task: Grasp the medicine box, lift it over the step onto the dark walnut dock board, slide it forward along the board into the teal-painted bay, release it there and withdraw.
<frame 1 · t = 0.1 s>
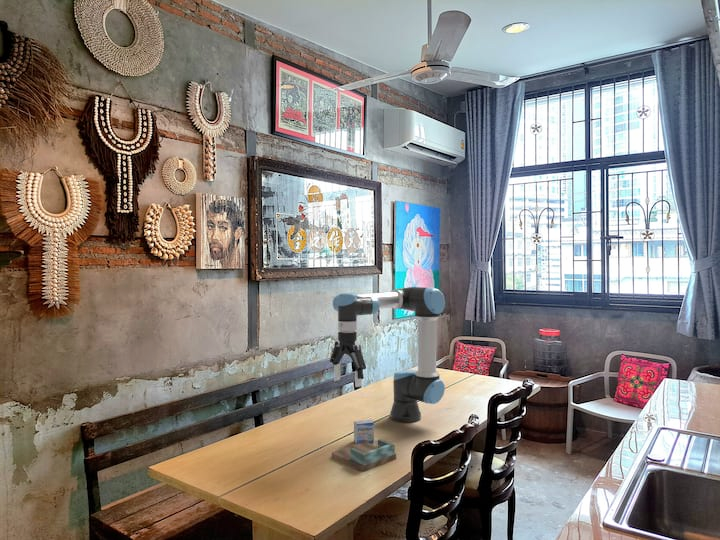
hand: (347, 383, 204), 28 cm above the table, fingers open, 13 cm apart
dock: (363, 458, 198), on the table
medicine box: (364, 442, 215), on the table
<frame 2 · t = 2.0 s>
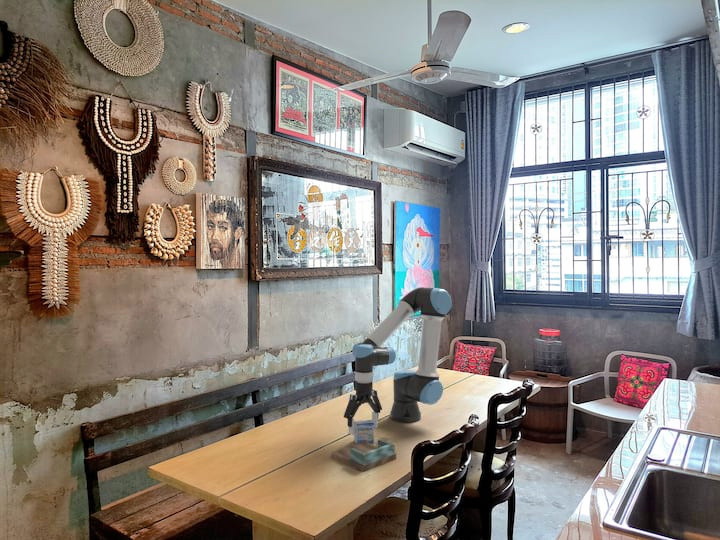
hand: (363, 430, 215), 5 cm above the table, fingers open, 13 cm apart
nothing on the table moved.
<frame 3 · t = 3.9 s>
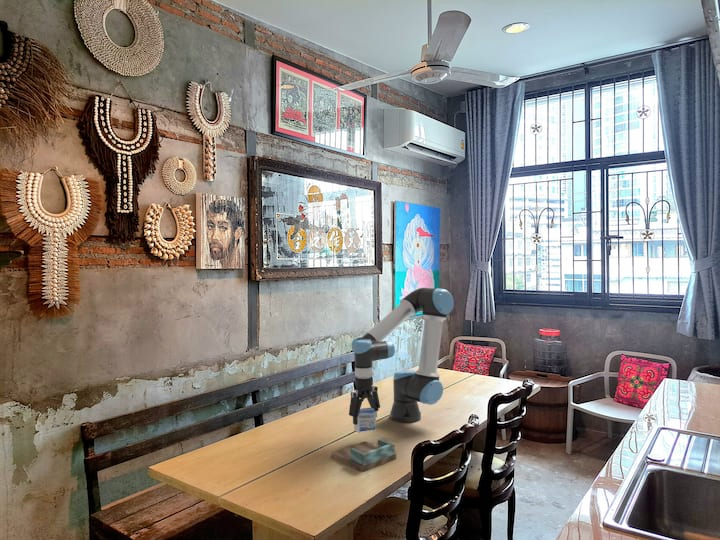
hand: (365, 428, 216), 6 cm above the table, fingers closed on medicine box, 9 cm apart
medicine box: (365, 429, 216), point 5 cm above the table, touching gripper
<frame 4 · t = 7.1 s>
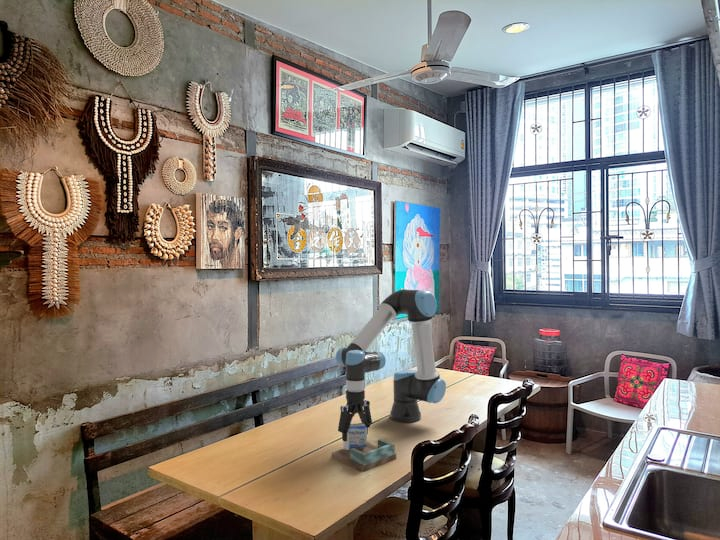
hand: (355, 445, 201), 4 cm above the table, fingers closed on medicine box, 9 cm apart
medicine box: (355, 446, 201), point 3 cm above the table, touching gripper
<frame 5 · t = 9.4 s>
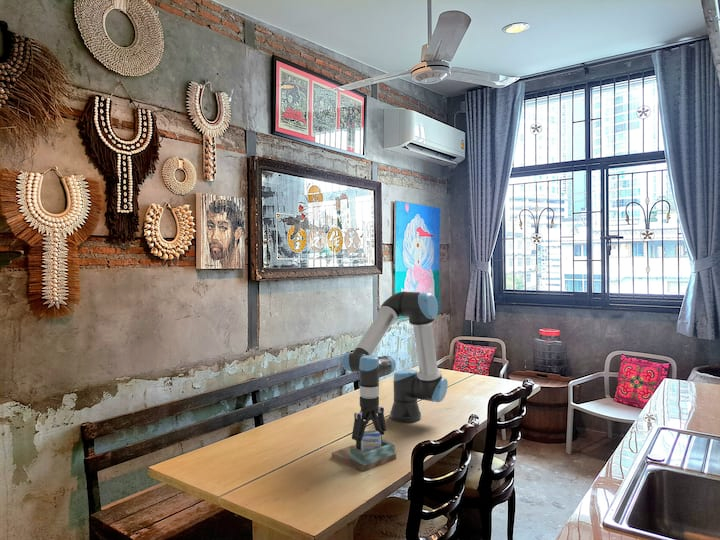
hand: (369, 453, 195), 3 cm above the table, fingers closed on medicine box, 9 cm apart
medicine box: (369, 454, 195), point 2 cm above the table, touching gripper
when the fingers open (4 cm above the table, at t = 11.5 s): medicine box stays where it is, resting on dock.
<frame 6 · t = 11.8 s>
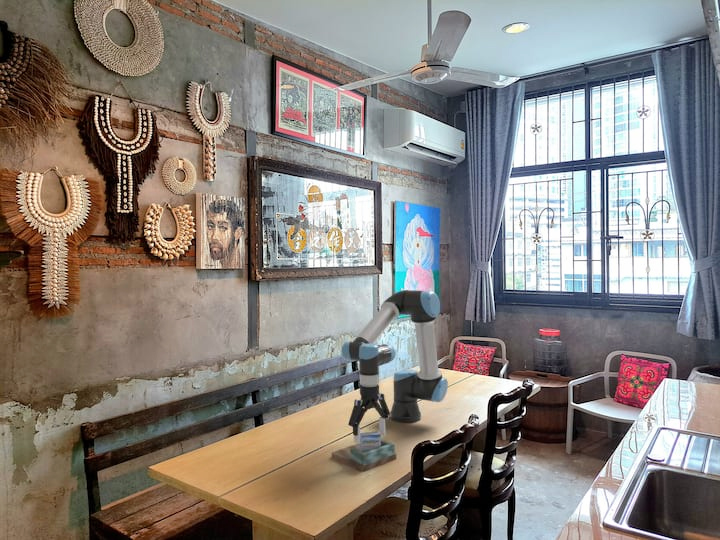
hand: (370, 438, 195), 8 cm above the table, fingers open, 13 cm apart
medicine box: (369, 455, 195), point 2 cm above the table, touching dock
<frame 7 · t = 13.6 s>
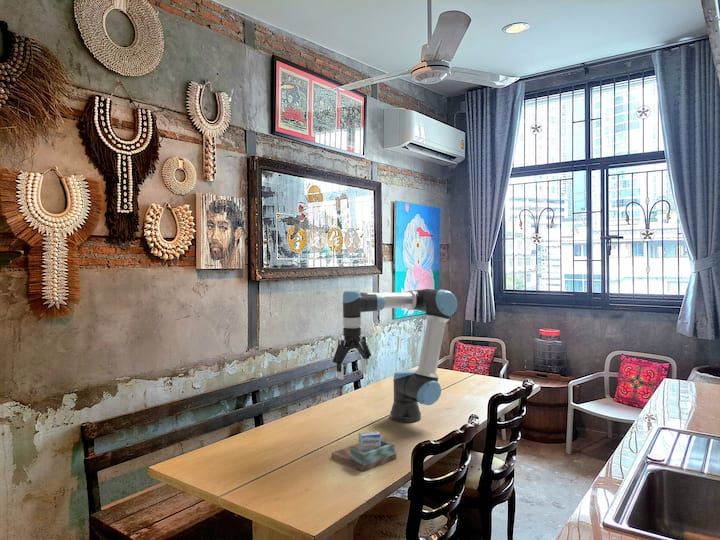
hand: (352, 376, 215), 28 cm above the table, fingers open, 13 cm apart
nothing on the table moved.
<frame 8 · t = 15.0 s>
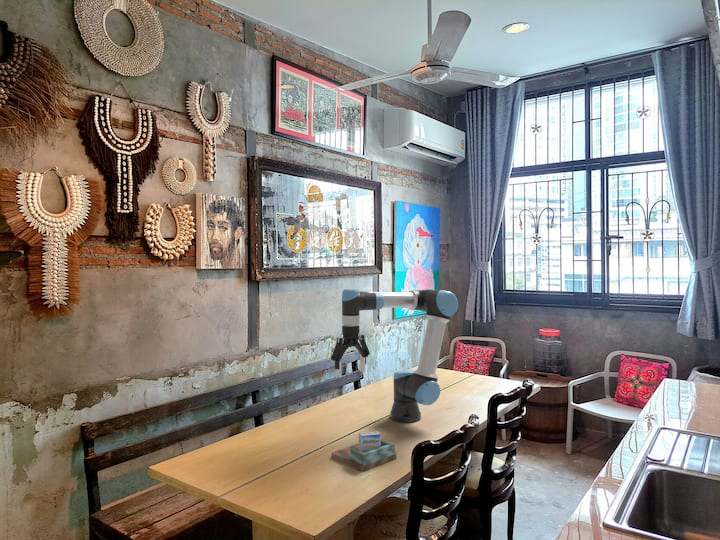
hand: (350, 374, 216), 29 cm above the table, fingers open, 13 cm apart
nothing on the table moved.
at the end: medicine box inside the target area on the dock (0.7 cm from its centre), point 1.8 cm above the dock's base; medicine box tilted 0°; the gripper is holding nothing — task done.
